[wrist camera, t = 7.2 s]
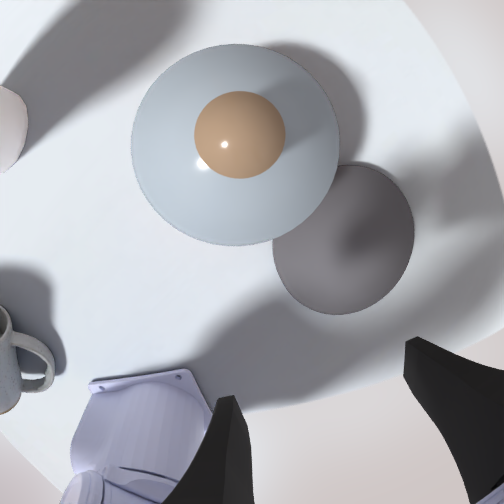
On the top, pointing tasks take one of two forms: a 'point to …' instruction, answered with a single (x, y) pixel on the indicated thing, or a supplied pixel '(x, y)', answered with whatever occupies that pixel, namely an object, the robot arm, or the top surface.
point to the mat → (348, 244)
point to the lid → (235, 145)
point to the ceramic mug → (7, 367)
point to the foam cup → (11, 127)
